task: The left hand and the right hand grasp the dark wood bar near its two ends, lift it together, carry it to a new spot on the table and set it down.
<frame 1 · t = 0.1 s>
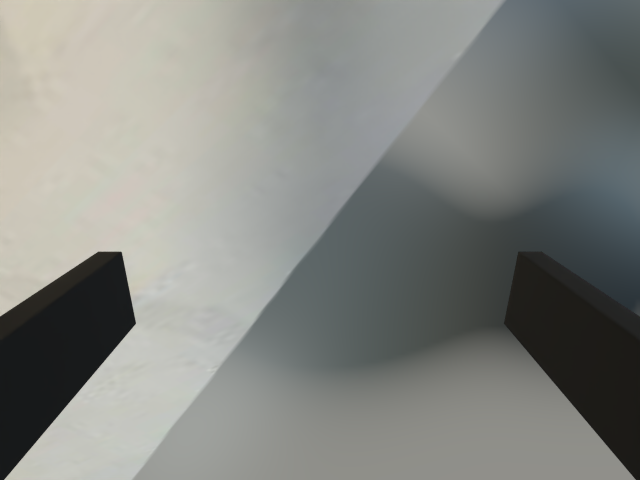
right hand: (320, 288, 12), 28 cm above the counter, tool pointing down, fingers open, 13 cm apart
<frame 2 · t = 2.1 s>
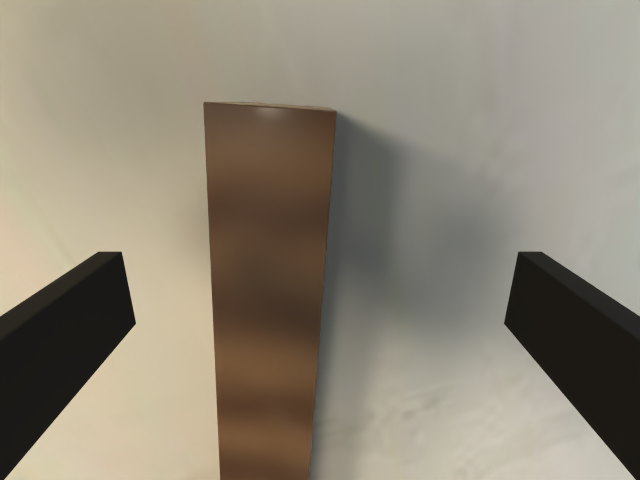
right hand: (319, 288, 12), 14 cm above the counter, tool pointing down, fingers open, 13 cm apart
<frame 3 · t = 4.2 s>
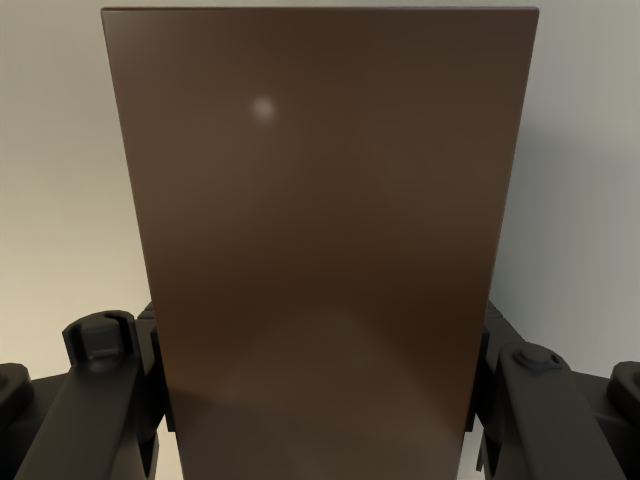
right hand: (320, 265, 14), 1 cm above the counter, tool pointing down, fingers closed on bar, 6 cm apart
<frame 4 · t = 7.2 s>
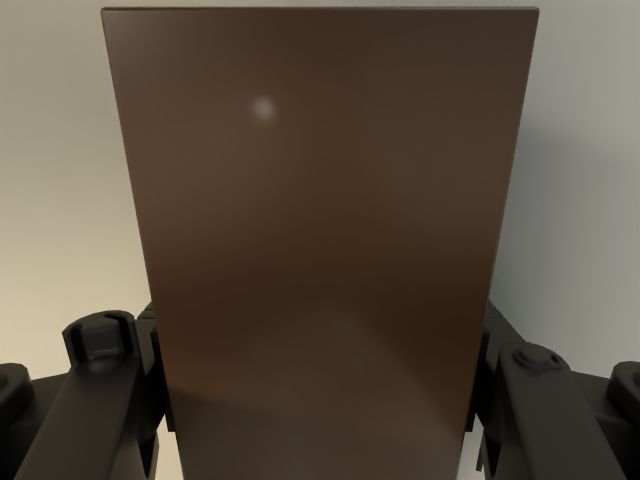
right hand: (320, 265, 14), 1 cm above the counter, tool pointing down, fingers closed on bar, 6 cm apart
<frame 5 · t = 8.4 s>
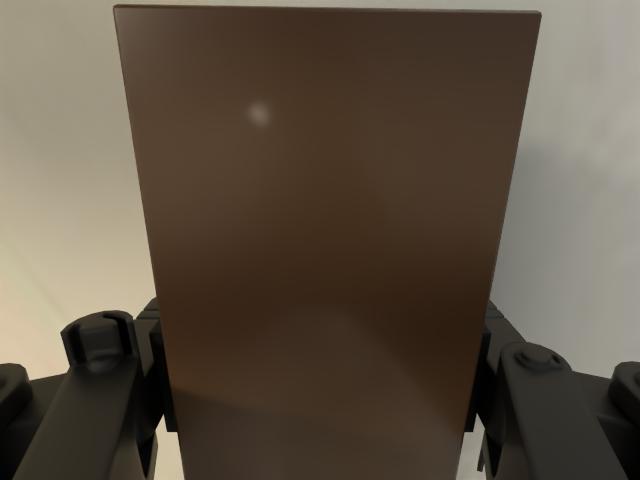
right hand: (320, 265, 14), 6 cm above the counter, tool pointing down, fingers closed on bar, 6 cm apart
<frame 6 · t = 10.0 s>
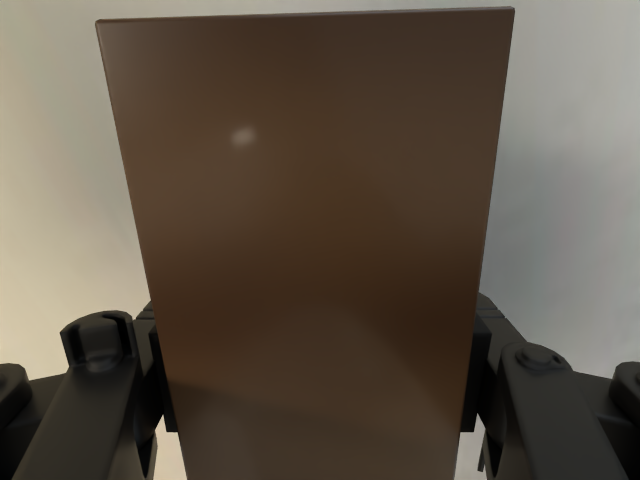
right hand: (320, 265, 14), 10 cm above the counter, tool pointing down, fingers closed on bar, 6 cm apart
when the left hand's fingers open (4 cm above the counter, at t = 12.6 s): bar drops 1 cm, on the counter.
when the right hand's fingers open (2 cm above the counter, at t = 12.6 s): bar drops 1 cm, on the counter.
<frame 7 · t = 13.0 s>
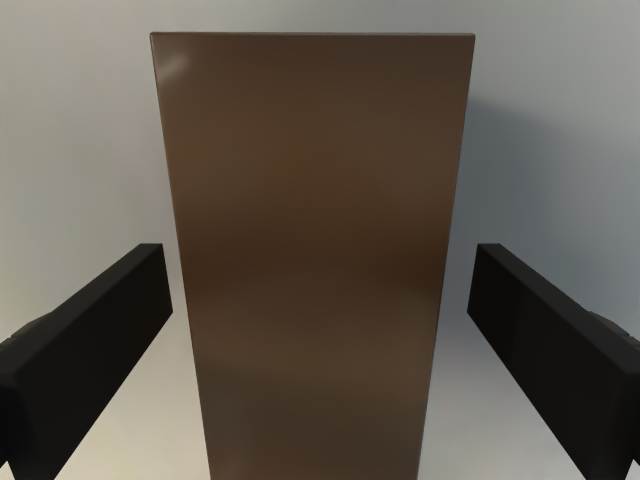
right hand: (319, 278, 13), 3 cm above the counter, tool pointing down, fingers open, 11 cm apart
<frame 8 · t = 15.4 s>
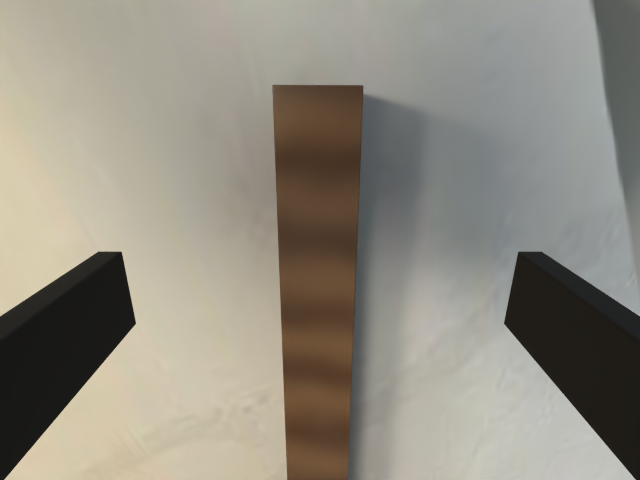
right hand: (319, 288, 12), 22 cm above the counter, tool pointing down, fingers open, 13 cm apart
bar: (317, 450, 44), on the counter
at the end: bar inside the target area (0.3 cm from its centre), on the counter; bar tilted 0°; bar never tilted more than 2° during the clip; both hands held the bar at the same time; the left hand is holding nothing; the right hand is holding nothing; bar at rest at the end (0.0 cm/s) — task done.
